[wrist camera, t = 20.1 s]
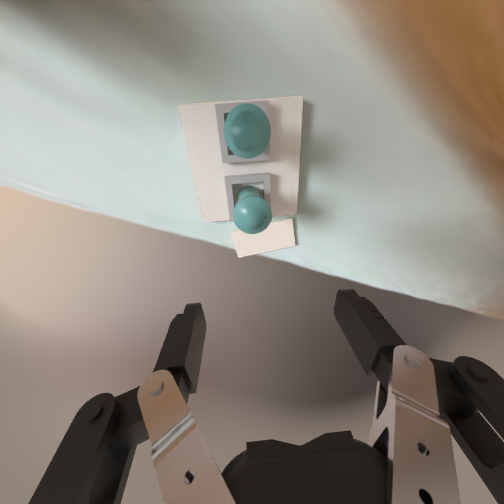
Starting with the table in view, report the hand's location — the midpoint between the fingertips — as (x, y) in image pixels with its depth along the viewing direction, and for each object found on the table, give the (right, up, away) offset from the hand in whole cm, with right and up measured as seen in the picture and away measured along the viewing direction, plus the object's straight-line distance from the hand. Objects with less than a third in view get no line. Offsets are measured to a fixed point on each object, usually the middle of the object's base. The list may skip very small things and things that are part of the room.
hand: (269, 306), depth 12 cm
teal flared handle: (-2, +20, +17) cm, 27 cm away
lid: (+1, +6, +28) cm, 29 cm away
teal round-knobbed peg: (-2, +13, +22) cm, 25 cm away
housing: (-2, +18, +21) cm, 27 cm away
